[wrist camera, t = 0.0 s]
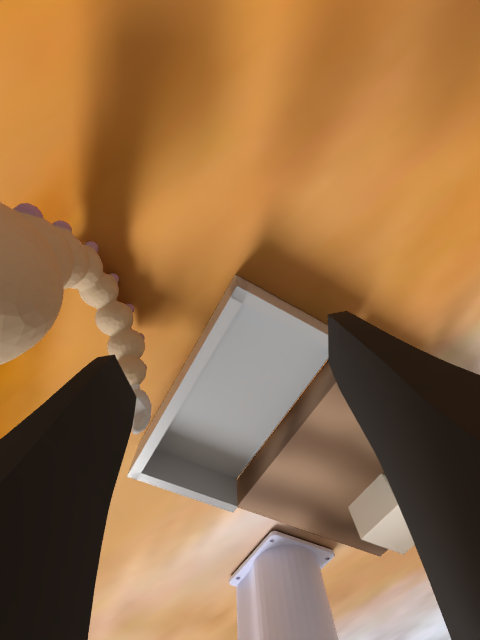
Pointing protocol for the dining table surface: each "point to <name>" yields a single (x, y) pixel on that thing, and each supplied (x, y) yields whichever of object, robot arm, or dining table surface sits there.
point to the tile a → (381, 517)
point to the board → (313, 467)
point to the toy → (61, 293)
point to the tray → (230, 395)
